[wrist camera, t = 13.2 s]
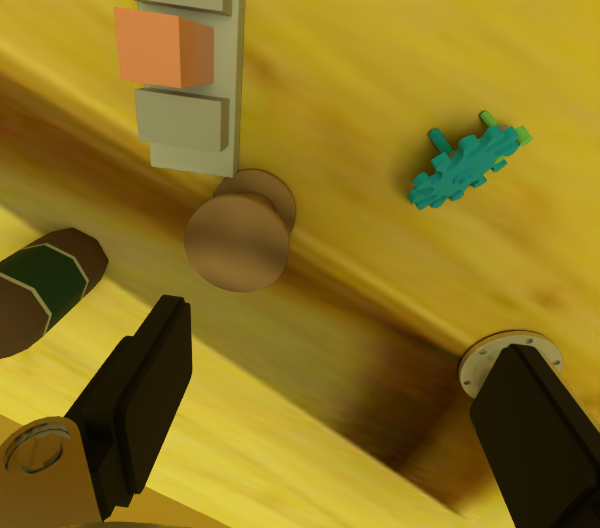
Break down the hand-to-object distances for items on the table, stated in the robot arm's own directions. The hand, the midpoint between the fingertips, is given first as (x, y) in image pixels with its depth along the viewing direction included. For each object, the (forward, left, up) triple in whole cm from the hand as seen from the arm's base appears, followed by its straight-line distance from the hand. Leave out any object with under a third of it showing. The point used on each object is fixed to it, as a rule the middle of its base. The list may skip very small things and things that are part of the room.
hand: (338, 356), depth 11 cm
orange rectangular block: (+7, +13, -26) cm, 30 cm away
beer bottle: (-16, +28, -28) cm, 43 cm away
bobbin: (-7, +7, -28) cm, 30 cm away
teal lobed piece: (+1, -12, -29) cm, 31 cm away
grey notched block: (+5, +13, -28) cm, 32 cm away
